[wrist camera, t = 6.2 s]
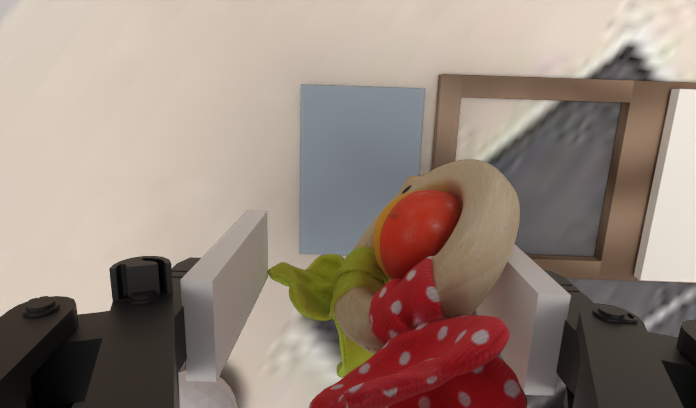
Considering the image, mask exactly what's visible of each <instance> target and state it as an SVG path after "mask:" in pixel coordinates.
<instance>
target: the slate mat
mask: <svg viewBox="0 0 696 408" xmlns="http://www.w3.org/2000/svg"><path fill="white" fill-rule="evenodd" d="M424 97H425V89H422V88H392V87H363V86H333V85H304V84H301V142H300V254H324V255H326V254H337V255H348V254H349V253H350V252H351V251H352V250H353V249H354V247H355V246H356V244H357V243H358V241H359V240H360V238H361V237H362V235H363V234H364V232H365V231H366V230H367V228H368V227H369V226H370V224H371V223H372V222H373V220H374V219H375V218H376V217H377V215H378V214H379V213H380V212H381V211H382V210H383V209H384V208H385V207H386V205H387V204H388V203H389V202H390V201H391V200H392V199H393V198H394V197H395V196H396V195H397V194H398V192H399V191H400V189H401V188H402V186H403V185H404V183H405V182H406V180H407V179H408V178H410V177H411V176H419V166H420V152H421V138H422V124H423V111H424Z"/></svg>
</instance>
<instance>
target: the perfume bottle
mask: <svg viewBox="0 0 696 408" xmlns="http://www.w3.org/2000/svg"><path fill="white" fill-rule="evenodd" d="M178 376H179V398H180V408H237V404H236V399H235V396H234V394H233V392H232V390H231V388H230V386H229V385H228V384H227V383H226V382H225V381H224V380H223V379H222V378H221V377H219V378H218V380H217V382H204V381H186V370H185V371H182V372H179V373H178Z"/></svg>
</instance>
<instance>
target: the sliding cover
mask: <svg viewBox="0 0 696 408" xmlns="http://www.w3.org/2000/svg"><path fill="white" fill-rule="evenodd" d="M634 277H636V278H637V279H639V280H643V281H670V282H696V89H672V90H671V95H670V100H669V105H668V110H667V115H666V120H665V125H664V129H663V134H662V139H661V144H660V149H659V154H658V159H657V164H656V169H655V174H654V179H653V183H652V188H651V193H650V198H649V203H648V208H647V213H646V218H645V223H644V228H643V233H642V237H641V242H640V247H639V252H638V257H637V262H636V267H635V272H634Z"/></svg>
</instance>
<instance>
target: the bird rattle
mask: <svg viewBox="0 0 696 408" xmlns="http://www.w3.org/2000/svg"><path fill="white" fill-rule="evenodd" d="M519 221H520V206H519V200H518V197H517V194H516V192H515V190H514V188H513V187H512V185H511V184H510V182H509V181H508V180H507V179H506V178H505V176H504V175H503V174H502V173H501V172H500V171H499V170H498V169H496V168H495V167H494V166H492V165H491V164H489V163H486V162H484V161H479V160H459V161H455V162H451V163H448V164H445V165H443V166H440V167H438V168H436V169H434V170H432V171H430V172H428V173H426V174H424V175H423V176H411V177H410V178H408V179H407V180H406V182H405V183H404V185H403V186H402V188H401V189H400V191H399V192H398V194H397V195H396V196H395V197H394V198H393V199H392V200H391V201H390V202H389V203H388V204H387V205H386V207H385V208H384V209H383V210H382V211H381V212H380V213H379V214H378V215H377V217H376V218H375V219H374V220H373V222H372V223H371V224H370V226H369V227H368V228H367V230H366V231H365V232H364V234H363V235H362V237H361V238H360V240H359V241H358V243H357V244H356V246H355V247H354V249H353V250H352V251H351V252H350V253H349V254H348V255H347V257H346V259H344V258H343V257H342V256H340V255H337V254H326V255H322V256H320V257H318V258H317V259H316V260H315V261H314V262H313V263H312V264H311V265H310V266H309V267H308V268H307V269H306V270H303V269H299V268H296V267H294V266H291V265H289V264H287V263H284V262H281V263H279V264H277V265H276V266H274V267H272V268H270V269H269V270H268V274H269V276H270V277H271V278H272V279H273V280H275V281H277V282H279V283H281V284H283V285H285V286H288V287H290V289H289V297H290V300H291V302H292V303H293V305H294V306H295V308H296V309H297V310H298V311H299V312H300V313H301V314H302V315H304V316H306V317H308V318H311V319H315V320H319V321H327V320H330V319H334V321H335V324H336V327H337V329H338V333H339V341H340V350H341V358H342V362H341V363H340V364H339V365H338V366H337V374H338V376H339V377H344V378H342V379H341V380H340V381H339V382H337V383H336V384H334V385H332V386H330V387H328V388H326V389H324V390H323V391H322V392H321V393H320V394H318V395H317V396H316V397H315V398H314V399H313V401H312V402H311V403H310V406H309V408H527V397H526V395H525V393H524V391H523V390H522V388H521V386H520V384H519V381H518V378H517V376H516V374H515V373H514V371H513V370H512V369H511V368H510V366H509V365H507V364H506V363H505V362H504V361H503V360H502V359H500V358H499V357H498V356H497V355H499V353H500V352H501V351H502V350H503V349H504V347H505V345H506V344H507V342H508V340H509V336H510V332H509V329H508V327H507V326H506V324H505V323H504V322H503V321H502V320H501V319H500V318H498V317H492V316H484V315H479V316H475V312H474V310H475V309H476V308H477V307H478V306H479V305H480V304H481V302H482V301H483V300H484V299H485V297H486V296H487V295H488V293H489V292H490V290H491V289H492V288H493V286H494V285H495V283H496V282H497V280H498V278H499V277H500V275H501V273H502V271H503V270H504V268H505V266H506V264H507V261H508V259H509V257H510V255H511V252H512V249H513V247H514V244H515V240H516V237H517V232H518V228H519Z"/></svg>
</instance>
